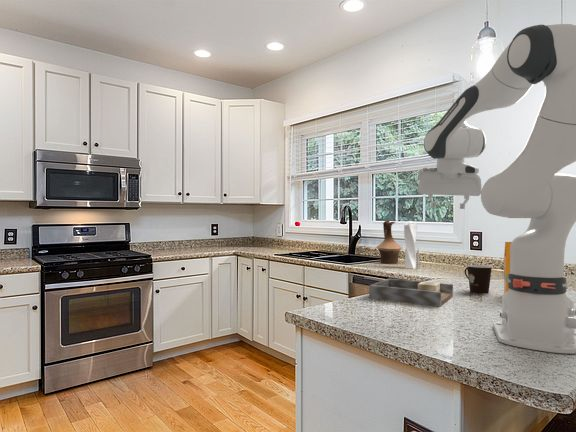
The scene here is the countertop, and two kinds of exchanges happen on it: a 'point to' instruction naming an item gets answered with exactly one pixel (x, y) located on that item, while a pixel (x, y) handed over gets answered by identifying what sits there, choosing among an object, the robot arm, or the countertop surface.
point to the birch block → (429, 286)
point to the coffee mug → (479, 278)
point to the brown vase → (389, 246)
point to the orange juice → (506, 265)
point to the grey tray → (410, 292)
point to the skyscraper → (411, 246)
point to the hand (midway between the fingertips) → (447, 208)
